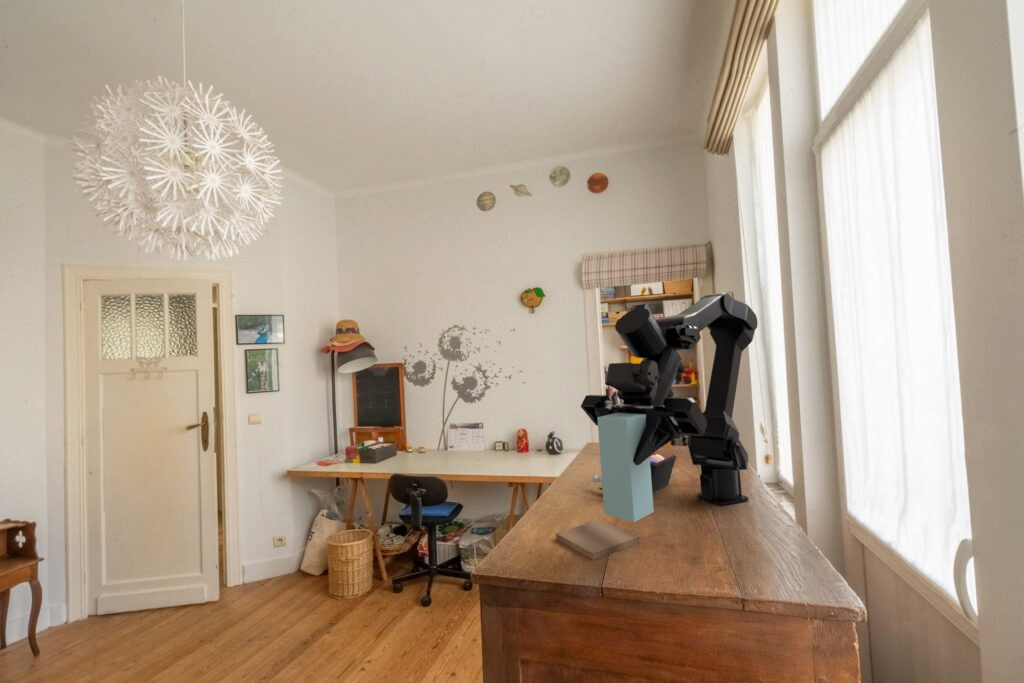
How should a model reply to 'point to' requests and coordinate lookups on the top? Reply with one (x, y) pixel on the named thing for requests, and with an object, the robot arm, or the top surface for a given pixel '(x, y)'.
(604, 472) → the pillar
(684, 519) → the top surface
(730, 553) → the top surface
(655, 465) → the character figurine
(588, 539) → the base tile
